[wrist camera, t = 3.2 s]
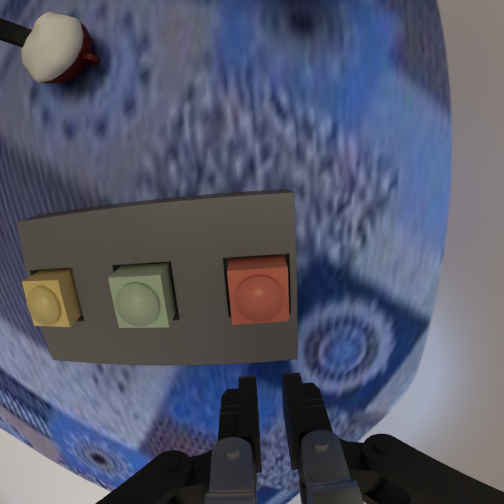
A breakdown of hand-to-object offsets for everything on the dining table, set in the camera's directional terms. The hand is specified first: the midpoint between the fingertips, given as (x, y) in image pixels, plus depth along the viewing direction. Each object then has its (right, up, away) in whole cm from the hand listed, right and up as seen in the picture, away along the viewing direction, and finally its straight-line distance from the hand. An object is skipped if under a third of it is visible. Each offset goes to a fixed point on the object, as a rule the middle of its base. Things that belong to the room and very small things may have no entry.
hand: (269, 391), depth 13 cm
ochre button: (-18, +2, +13) cm, 22 cm away
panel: (-9, +4, +15) cm, 18 cm away
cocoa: (-18, +24, +10) cm, 32 cm away
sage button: (-9, +3, +13) cm, 16 cm away
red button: (0, +3, +13) cm, 14 cm away
